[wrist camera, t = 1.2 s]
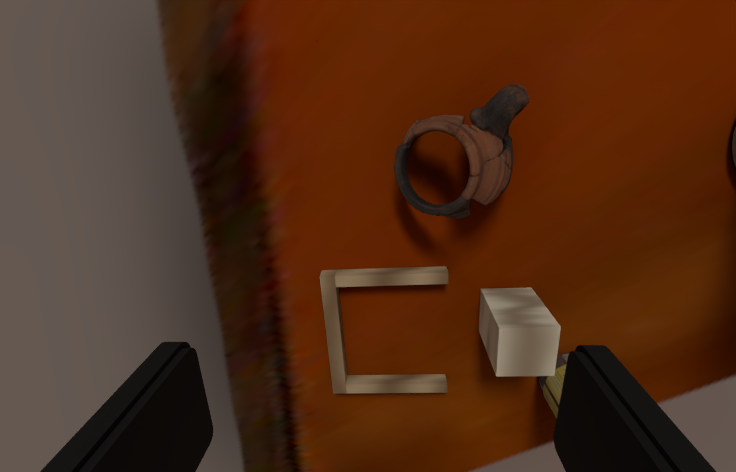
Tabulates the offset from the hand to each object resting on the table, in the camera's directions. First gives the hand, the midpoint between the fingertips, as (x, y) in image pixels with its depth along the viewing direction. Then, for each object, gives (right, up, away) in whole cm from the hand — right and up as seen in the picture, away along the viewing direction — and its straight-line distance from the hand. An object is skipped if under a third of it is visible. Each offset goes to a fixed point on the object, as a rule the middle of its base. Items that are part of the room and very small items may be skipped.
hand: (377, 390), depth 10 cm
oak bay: (+2, -6, +31) cm, 32 cm away
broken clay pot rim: (+8, +12, +24) cm, 28 cm away
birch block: (+14, -4, +29) cm, 33 cm away
